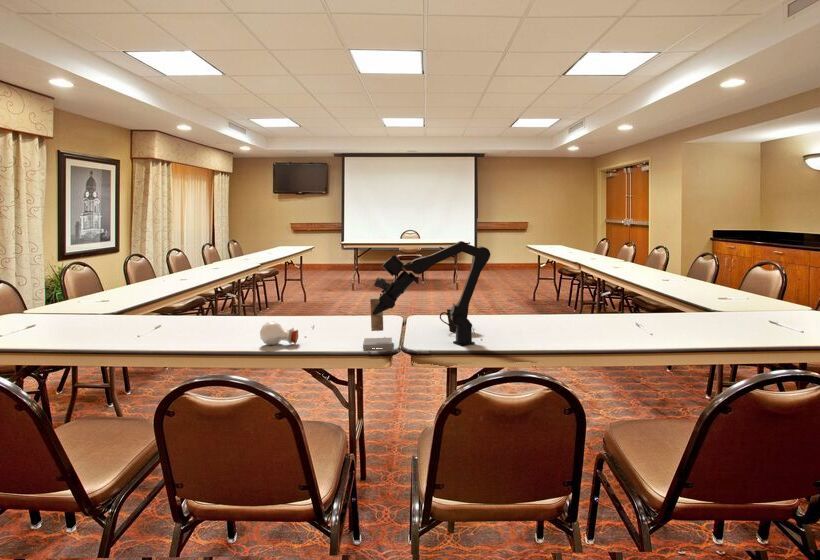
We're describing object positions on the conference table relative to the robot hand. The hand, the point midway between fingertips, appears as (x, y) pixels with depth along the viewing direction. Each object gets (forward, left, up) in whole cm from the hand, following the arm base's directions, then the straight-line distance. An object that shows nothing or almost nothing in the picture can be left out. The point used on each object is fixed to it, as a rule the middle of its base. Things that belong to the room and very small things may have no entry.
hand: (373, 313), depth 207 cm
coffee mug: (+5, -41, -13) cm, 44 cm away
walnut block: (-1, -1, -7) cm, 7 cm away
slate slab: (-1, -1, -13) cm, 13 cm away
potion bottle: (+25, +31, -13) cm, 42 cm away
